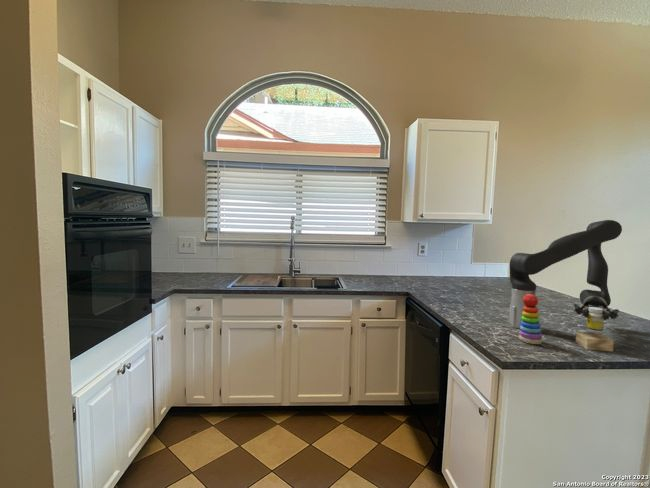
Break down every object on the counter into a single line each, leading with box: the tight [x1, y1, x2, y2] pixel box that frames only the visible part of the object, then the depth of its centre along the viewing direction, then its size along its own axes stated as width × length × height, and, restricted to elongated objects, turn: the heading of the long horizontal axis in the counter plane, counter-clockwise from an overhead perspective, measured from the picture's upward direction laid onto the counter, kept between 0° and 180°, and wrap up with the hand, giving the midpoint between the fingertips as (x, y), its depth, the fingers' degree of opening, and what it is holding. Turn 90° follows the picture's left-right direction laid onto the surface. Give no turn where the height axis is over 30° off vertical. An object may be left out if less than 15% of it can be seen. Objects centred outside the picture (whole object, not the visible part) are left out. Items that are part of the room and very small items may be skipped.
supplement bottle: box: [586, 307, 605, 333], centre depth 117 cm, size 5×5×8 cm
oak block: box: [575, 331, 615, 352], centre depth 118 cm, size 8×8×4 cm
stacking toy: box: [518, 294, 544, 345], centre depth 123 cm, size 8×8×19 cm
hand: (595, 316), depth 115 cm, fingers closed on supplement bottle, 4 cm apart
